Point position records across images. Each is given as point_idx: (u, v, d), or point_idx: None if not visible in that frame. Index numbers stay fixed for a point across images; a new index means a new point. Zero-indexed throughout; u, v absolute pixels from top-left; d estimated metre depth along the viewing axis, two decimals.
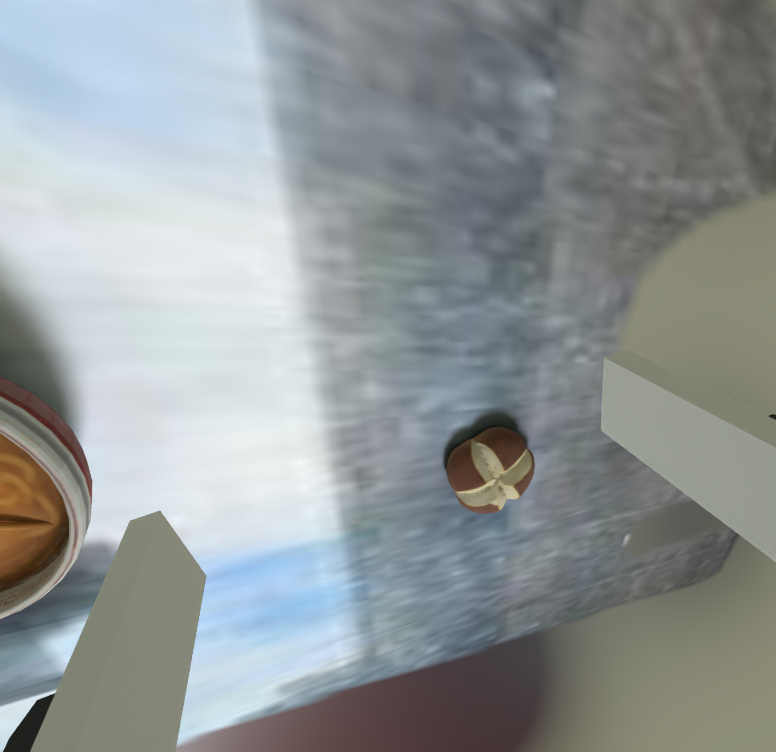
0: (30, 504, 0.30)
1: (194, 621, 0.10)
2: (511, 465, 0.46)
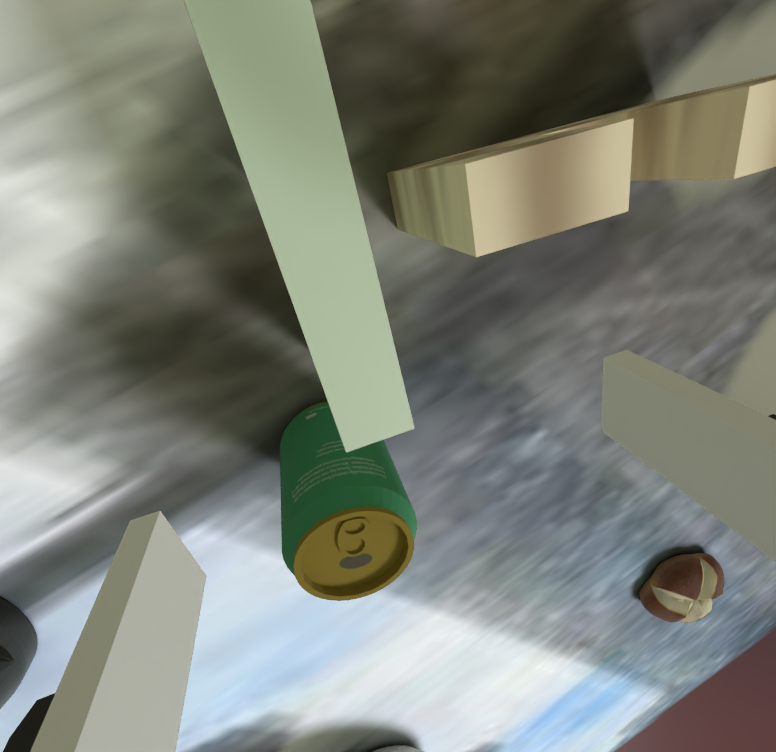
0: None
1: (194, 621, 0.10)
2: (699, 594, 0.52)
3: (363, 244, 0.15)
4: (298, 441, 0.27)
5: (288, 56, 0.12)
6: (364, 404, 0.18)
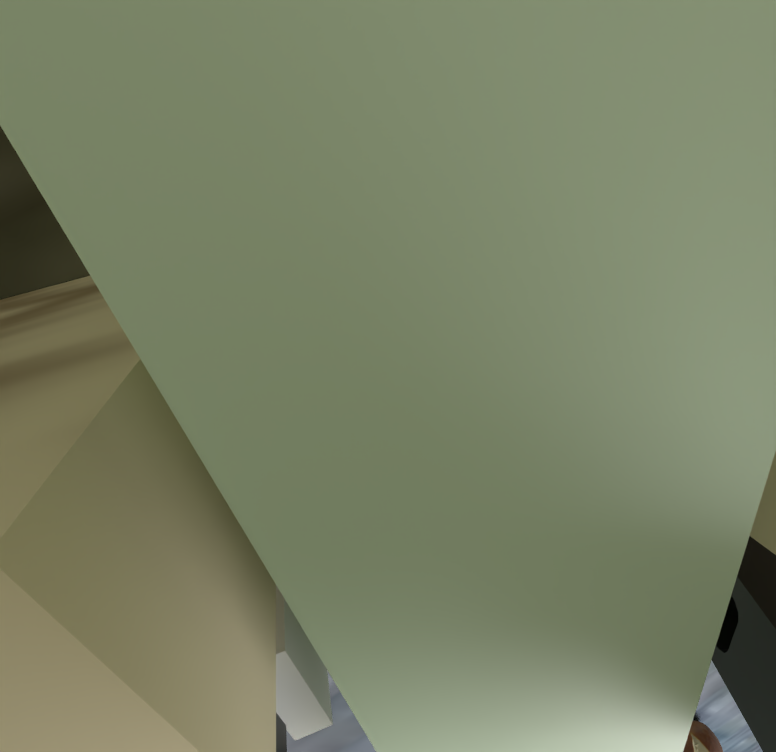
0: None
1: None
2: None
3: (737, 512, 0.03)
4: None
5: None
6: None
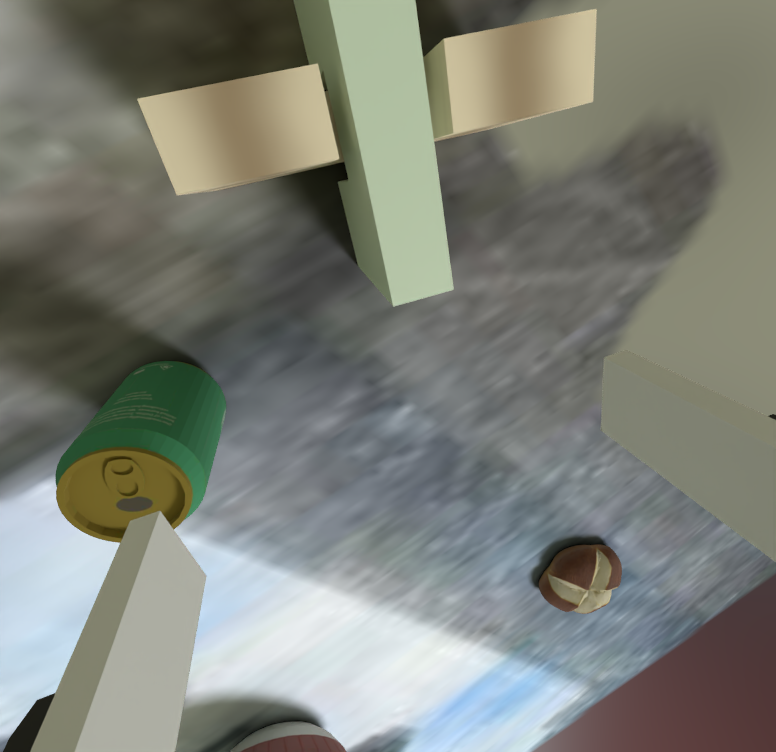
0: None
1: (194, 621, 0.10)
2: (590, 584, 0.52)
3: (422, 96, 0.18)
4: (114, 393, 0.28)
5: None
6: (412, 258, 0.21)
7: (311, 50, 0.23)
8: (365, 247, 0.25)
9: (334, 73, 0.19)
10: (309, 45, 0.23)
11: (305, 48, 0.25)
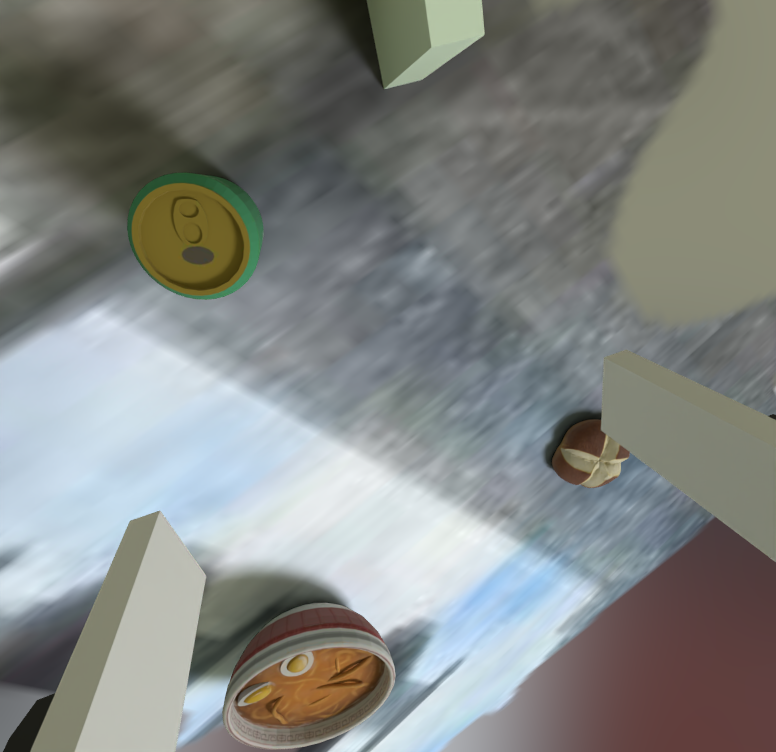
0: (356, 655, 0.55)
1: (194, 621, 0.10)
2: (601, 450, 0.55)
3: None
4: None
5: None
6: None
7: None
8: (398, 27, 0.28)
9: None
10: None
11: None
